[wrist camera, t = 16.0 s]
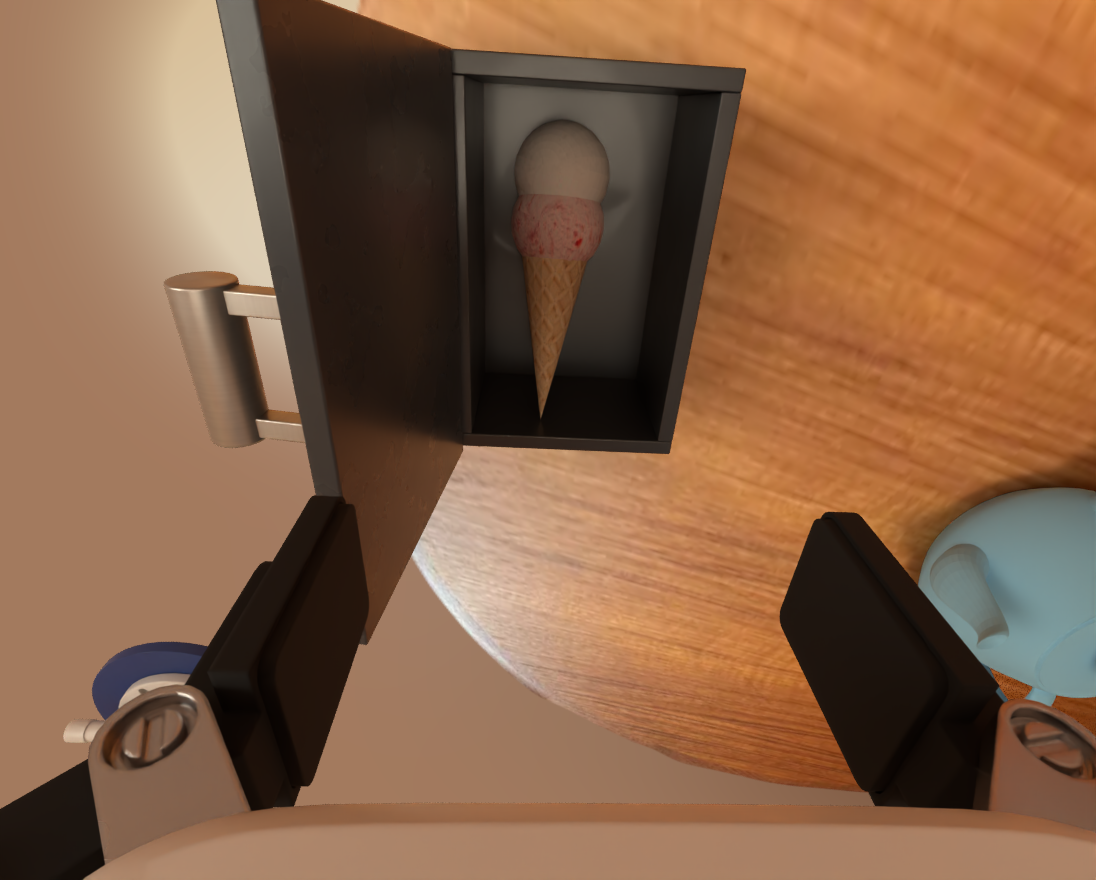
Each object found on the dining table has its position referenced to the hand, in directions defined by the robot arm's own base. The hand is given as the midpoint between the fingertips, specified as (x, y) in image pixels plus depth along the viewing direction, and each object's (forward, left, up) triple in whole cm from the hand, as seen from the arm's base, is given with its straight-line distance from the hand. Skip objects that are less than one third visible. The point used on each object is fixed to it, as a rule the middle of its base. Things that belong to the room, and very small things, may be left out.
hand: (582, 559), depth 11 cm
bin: (+1, +1, -26) cm, 26 cm away
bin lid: (-6, +1, -10) cm, 12 cm away
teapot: (+39, -21, -26) cm, 51 cm away
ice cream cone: (0, 0, -22) cm, 22 cm away
